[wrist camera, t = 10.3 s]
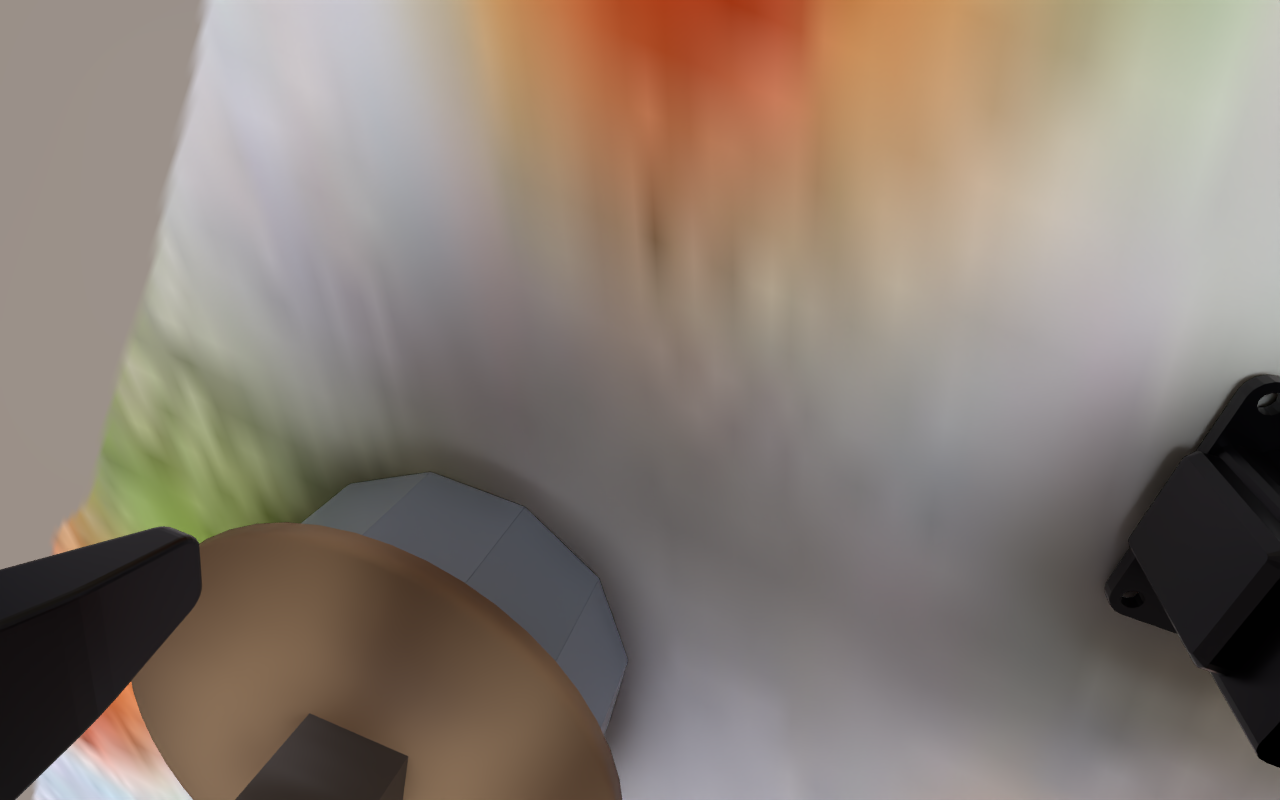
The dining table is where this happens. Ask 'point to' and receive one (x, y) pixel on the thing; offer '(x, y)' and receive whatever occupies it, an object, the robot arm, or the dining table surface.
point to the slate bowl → (496, 568)
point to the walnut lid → (360, 682)
